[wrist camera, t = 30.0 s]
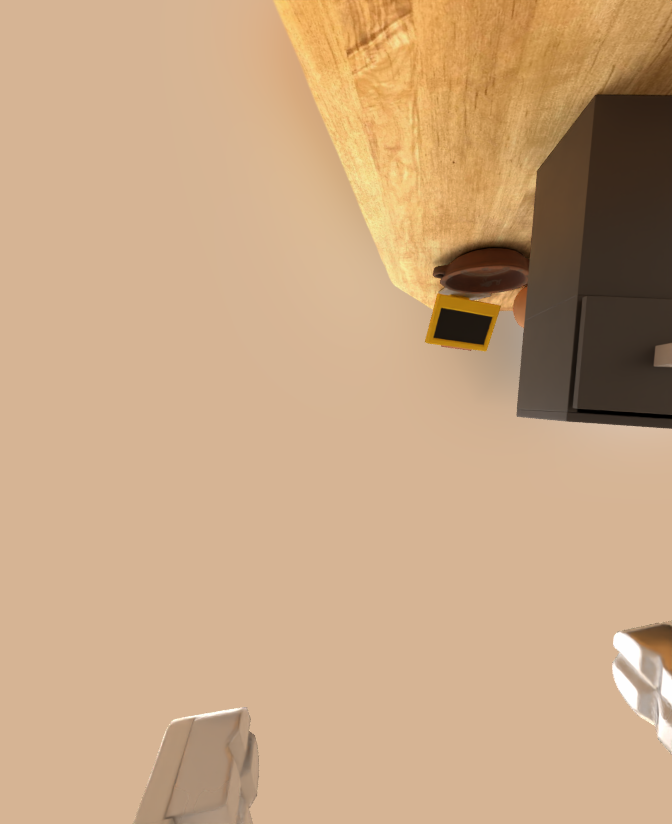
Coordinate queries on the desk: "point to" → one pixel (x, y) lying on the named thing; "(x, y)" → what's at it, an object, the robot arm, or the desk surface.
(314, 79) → the desk surface
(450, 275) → the dish
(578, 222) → the cabinet
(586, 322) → the drawer
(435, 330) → the toy computer monitor
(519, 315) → the egg
